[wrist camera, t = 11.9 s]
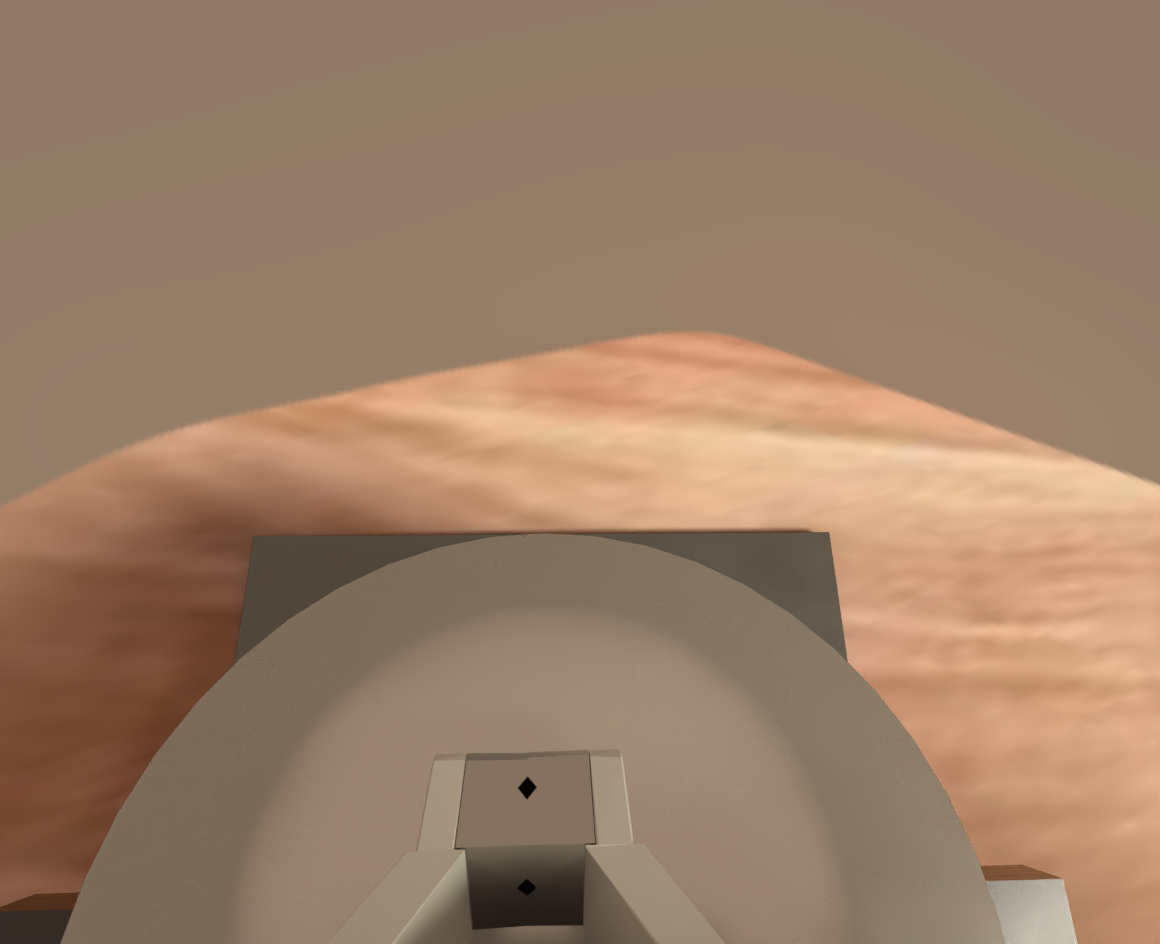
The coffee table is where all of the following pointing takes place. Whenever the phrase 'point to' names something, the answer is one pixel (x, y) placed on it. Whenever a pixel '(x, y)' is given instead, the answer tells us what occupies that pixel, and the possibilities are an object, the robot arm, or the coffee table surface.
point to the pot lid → (536, 724)
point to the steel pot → (758, 560)
